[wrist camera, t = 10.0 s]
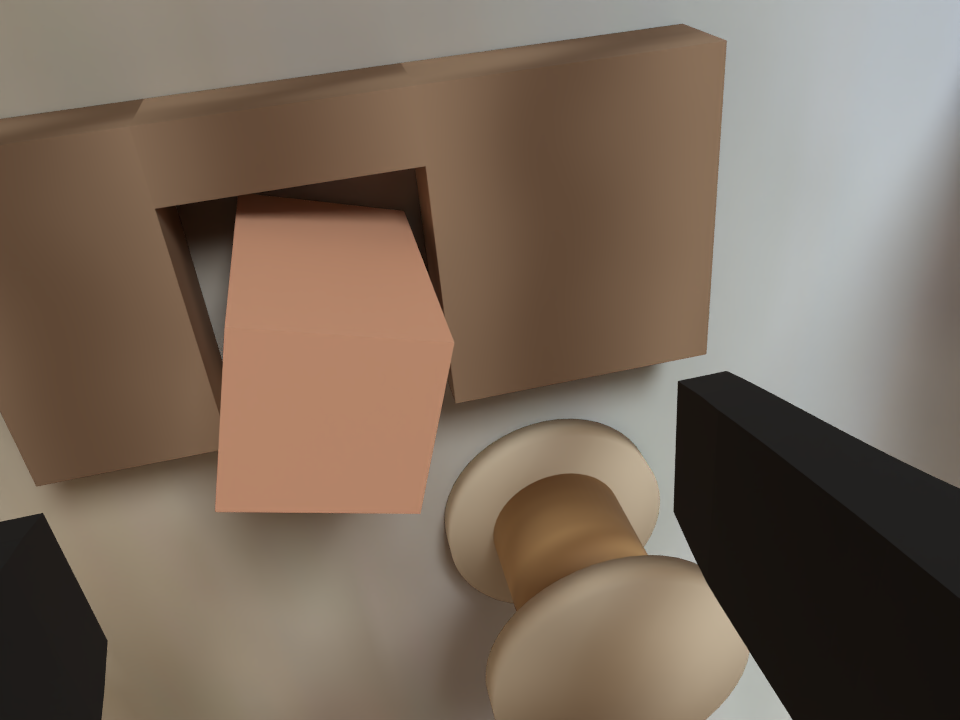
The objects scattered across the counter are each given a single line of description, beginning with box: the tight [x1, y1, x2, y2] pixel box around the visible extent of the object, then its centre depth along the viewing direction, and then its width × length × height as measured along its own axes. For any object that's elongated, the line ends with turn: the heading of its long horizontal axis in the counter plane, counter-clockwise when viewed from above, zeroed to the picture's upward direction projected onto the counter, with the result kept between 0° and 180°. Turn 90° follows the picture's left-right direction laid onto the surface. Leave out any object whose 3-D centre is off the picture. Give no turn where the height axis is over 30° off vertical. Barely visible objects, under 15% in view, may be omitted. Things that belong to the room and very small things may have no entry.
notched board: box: [0, 24, 727, 486], centre depth 17 cm, size 15×7×2 cm, turn 95°
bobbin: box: [445, 419, 749, 720], centre depth 21 cm, size 6×6×6 cm
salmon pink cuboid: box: [215, 194, 454, 514], centre depth 16 cm, size 4×4×6 cm
